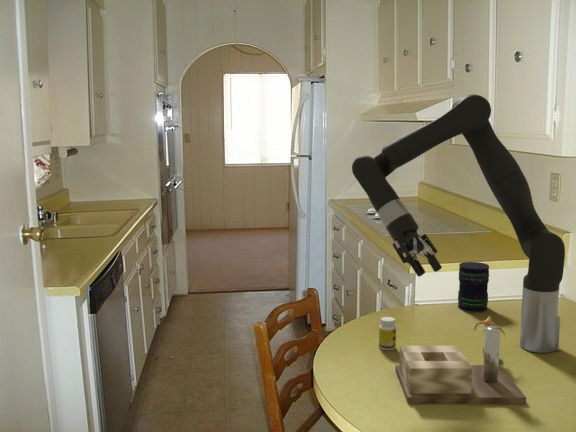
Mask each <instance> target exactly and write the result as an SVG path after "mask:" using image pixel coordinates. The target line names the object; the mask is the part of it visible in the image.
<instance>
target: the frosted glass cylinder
mask: <svg viewBox="0 0 576 432" xmlns="http://www.w3.org/2000/svg"><path fill="white" fill-rule="evenodd" d="M499 327H500V326H499ZM499 327H496V326H486V327H485V326H484V329H485V332H484V339H483V340H484V341H483V342H484V344H483V346H484V353H483V381H485V382H487V383H497V382H498V366H499V365H500V359H499V358H500V343H501V342H500V340H501V339H500V338H501V330H500V328H501V327H500V328H499Z"/></svg>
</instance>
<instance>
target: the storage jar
mask: <svg viewBox="0 0 576 432" xmlns="http://www.w3.org/2000/svg"><path fill="white" fill-rule="evenodd" d="M458 266H459V269H458V281H459V286H458V287H459V289H458V290H459V291H458V293H457V303H458V304H457V309H459V310H461V311H464V312H468V313H483V312H486V311H488V303H489V293H488V287H489V285H488V284H489V281H490V278H489V277H490V273H489V272H490V270H489V269H490V265H489V264H488V263H483V262H477V261H476V262H475V261H467V262H466V261H464V262H461V263H459V265H458Z"/></svg>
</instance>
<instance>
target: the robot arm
mask: <svg viewBox="0 0 576 432" xmlns="http://www.w3.org/2000/svg"><path fill="white" fill-rule="evenodd" d="M491 107H492V105H491V103H490V102H489V101H488V100H487V99H486V98H485V97H484V96H482V95H479V94H474V93H473V94H466V95H461V96H460V97H458V98H456V100H455V101H454V102H453V104H452V106H451V109H450V110H448V111H447V112H446V113H444V114H442V115H441V116H440V117H438V118H436V119H435V120H432V121H431V122H429V123H427V124H425V125H422V126H420V127H418V128H415V129H414V130H411V131H410V132H407V133H406V134H403V135H402V136H400V137H398V138H397V139H396V138H395V140H393V141H391V142H389V143H388V144H385V146H383V148H382V149H381V152H380V153H379V154H377V155H376V156H374V157H372V156H370V155H366V154H365V155H363V154H362V155H359V156H358V157H356V158H355V159H353V162H352V165H351V171H352V174H353V177H354V178H355V179H356V181H357V182H358V183H359V185H360V187H361V188H362V189H363V190H364V192H365V193H366V195H367V196H368V200H369V201H370V204H371V205H372V206H373V208H374V209H375V212H376V213H377V215H378V217H379V219H380V222H381V223H382V224H383V226H384V228H385V230H386V231H387V232H388V234H389V236H390V238H392V241H393V243H392V246H393V248H394V250H395V251H396V254H397V255H398V257H399V259H400V260H401V262H402V263H403V264H406V263H407V264H408V265H410V267H411V268H412V270H413V271H414V273H415V275H416V276H417V277H418V278H419V277H422V276H423V275H424V274H426V270H425V268H424V267H423V266H422V264H421V262H420V261H419V259H418V257H417V256H418V255H419V256H420V257H424V258H425V259H426V260H427V262H428V264H429V265H430V266H431V268H432V271H434V272H435V273H436V272H439V271H440V270H442V268H443V266H442V265H441V263H440V261H438V259H437V257H436V254H437V253H438V249H437V248H436V247H435V245H434V244H433V243H432V241H431V240H430V238H429V237H428V235H427V234H426V233H424V234H422V235H420V234H419V233H418V230H419V225H418V223H417V222H416V220H415V218H414V217H413V216H412V213H411V212H410V210H409V209H408V208H407V206H406V205H405V204H404V202H403V201H402V200H401V198H400V197H399V195H398V194H397V192H396V190H395V189H394V188H393V186H392V185H391V184H390V183H389V181H388V180H387V177H388V176H389V175H391V174H392V173H394V171H395V170H397V169H399V168H400V167H402V166H403V165H406V164H408V163H409V162H411V161H413V160H415V159H417V158H418V157H420V156H421V155H423V154H425V153H427V152H429V151H430V150H432V149H433V148H435V147H437V146H439V145H440V144H442V143H444V142H446V141H449V140H450V139H453V138H455V137H457V136H460V135H462V136H463V138H464V139H465V140H466V142H467V143H468V146H469V147H470V148H471V150H472V152H473V155H474V157H475V160H476V162H477V164H478V166H479V168H480V170H481V173H482V174H483V178H485V180H486V182H487V185H488V187H489V189H490V190H491V192H492V194H493V196H494V198H495V199H496V201H497V203H498V204H499V206H500V207H501V209H502V210H503V212H504V213H505V215H506V216H507V218H508V220H509V221H510V223H511V225H512V227H513V230H514V232H515V235H516V238H517V240H518V242H519V245H520V247H521V249H522V252H523V253H524V255H525V256H526V257H527V258H528V269H527V274H526V275H524V276H523V279H522V280H523V281H522V296H521V297H522V298H521V300H522V301H521V302H522V303H521V314H520V315H521V318H520V335H519V336H520V337H519V346H520V347H521V348H522V349H524V350H526V351H528V352H534V353H539V354H546V353H547V354H548V353H549V354H550V353H553V352H558V351H559V348H560V346H559V345H560V335H561V334H560V330H561V329H560V328H561V317H560V316H559V315H558V313H559V312H558V311H559V298H560V297H559V294H560V284H561V283H562V280H563V277H564V276H563V275H564V268H565V258H566V247H565V242H564V241H563V239H562V238H561V237H560V235H558V234H556V233H554V232H552V231H550V230H549V229H548V228H547V227H546V226H545V223H544V222H543V221H542V219H541V218H540V216H539V215H538V213H537V210H536V209H535V206H534V201H533V198H532V192H531V188H530V185H529V183H528V180H527V178H526V176H525V174H524V172H523V171H522V168H521V166H520V165H519V163H518V162H517V160H516V158H514V156H513V155H512V153H510V151H509V149H507V147H506V146H505V145H504V144H503V142H502V141H501V140H500V138H499V137H498V136H497V134H496V133H495V130H494V129H493V127H492V124H491V122H490V120H489V119H490V118H491V115H492V108H491Z"/></svg>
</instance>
